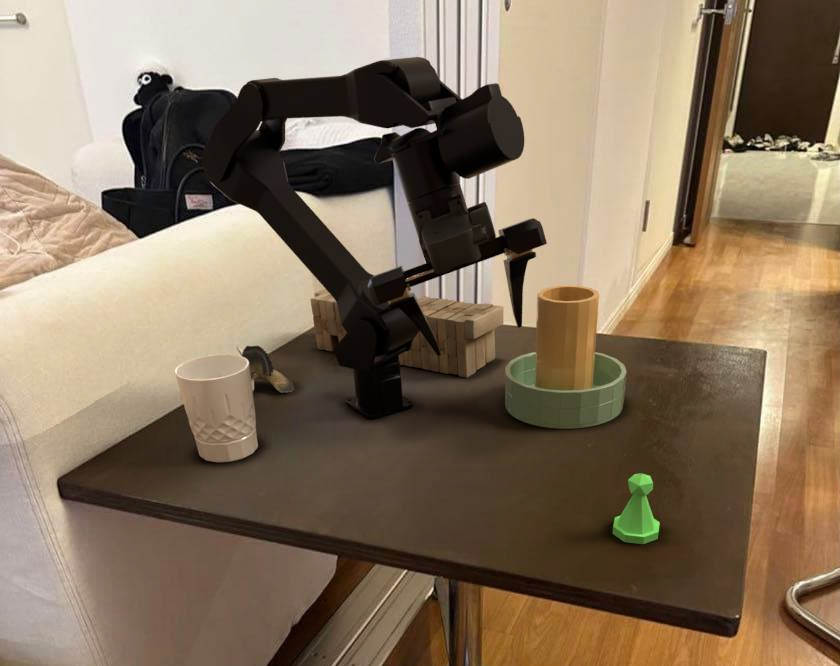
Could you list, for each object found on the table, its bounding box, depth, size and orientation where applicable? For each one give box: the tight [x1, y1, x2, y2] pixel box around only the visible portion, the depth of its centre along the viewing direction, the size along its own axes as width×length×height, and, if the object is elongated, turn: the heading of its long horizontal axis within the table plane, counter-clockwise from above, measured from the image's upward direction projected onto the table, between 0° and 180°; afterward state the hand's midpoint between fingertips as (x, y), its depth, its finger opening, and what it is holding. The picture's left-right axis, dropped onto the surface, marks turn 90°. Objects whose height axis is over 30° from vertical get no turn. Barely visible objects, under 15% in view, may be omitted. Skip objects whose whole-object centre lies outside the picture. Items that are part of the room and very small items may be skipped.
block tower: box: [310, 288, 505, 378], centre depth 112 cm, size 8×8×29 cm
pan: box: [504, 351, 628, 430], centre depth 96 cm, size 14×14×4 cm
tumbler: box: [535, 284, 600, 391], centre depth 93 cm, size 7×7×13 cm
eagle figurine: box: [236, 345, 295, 394], centre depth 104 cm, size 8×7×9 cm
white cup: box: [174, 353, 259, 463], centre depth 88 cm, size 8×8×10 cm
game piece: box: [612, 473, 660, 545], centre depth 70 cm, size 4×4×6 cm
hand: (479, 341), depth 86 cm, fingers open, 9 cm apart
